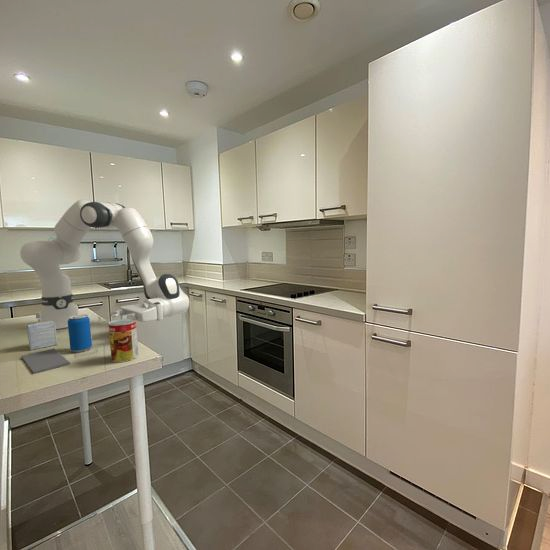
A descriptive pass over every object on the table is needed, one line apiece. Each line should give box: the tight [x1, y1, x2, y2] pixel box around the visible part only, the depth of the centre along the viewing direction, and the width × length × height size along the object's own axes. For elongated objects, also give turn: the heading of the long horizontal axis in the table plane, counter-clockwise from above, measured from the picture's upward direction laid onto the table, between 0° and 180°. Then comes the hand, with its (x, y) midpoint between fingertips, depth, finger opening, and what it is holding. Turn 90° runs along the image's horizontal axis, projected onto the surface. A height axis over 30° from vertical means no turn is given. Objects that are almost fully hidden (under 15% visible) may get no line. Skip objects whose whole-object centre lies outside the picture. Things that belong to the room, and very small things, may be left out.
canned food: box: [108, 318, 139, 363], centre depth 100 cm, size 8×8×12 cm
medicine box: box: [26, 321, 58, 351], centre depth 114 cm, size 8×4×9 cm, turn 134°
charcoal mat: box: [21, 348, 71, 374], centre depth 100 cm, size 20×9×1 cm, turn 47°
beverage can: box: [67, 314, 93, 353], centre depth 108 cm, size 6×6×12 cm
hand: (116, 316), depth 117 cm, fingers open, 8 cm apart
